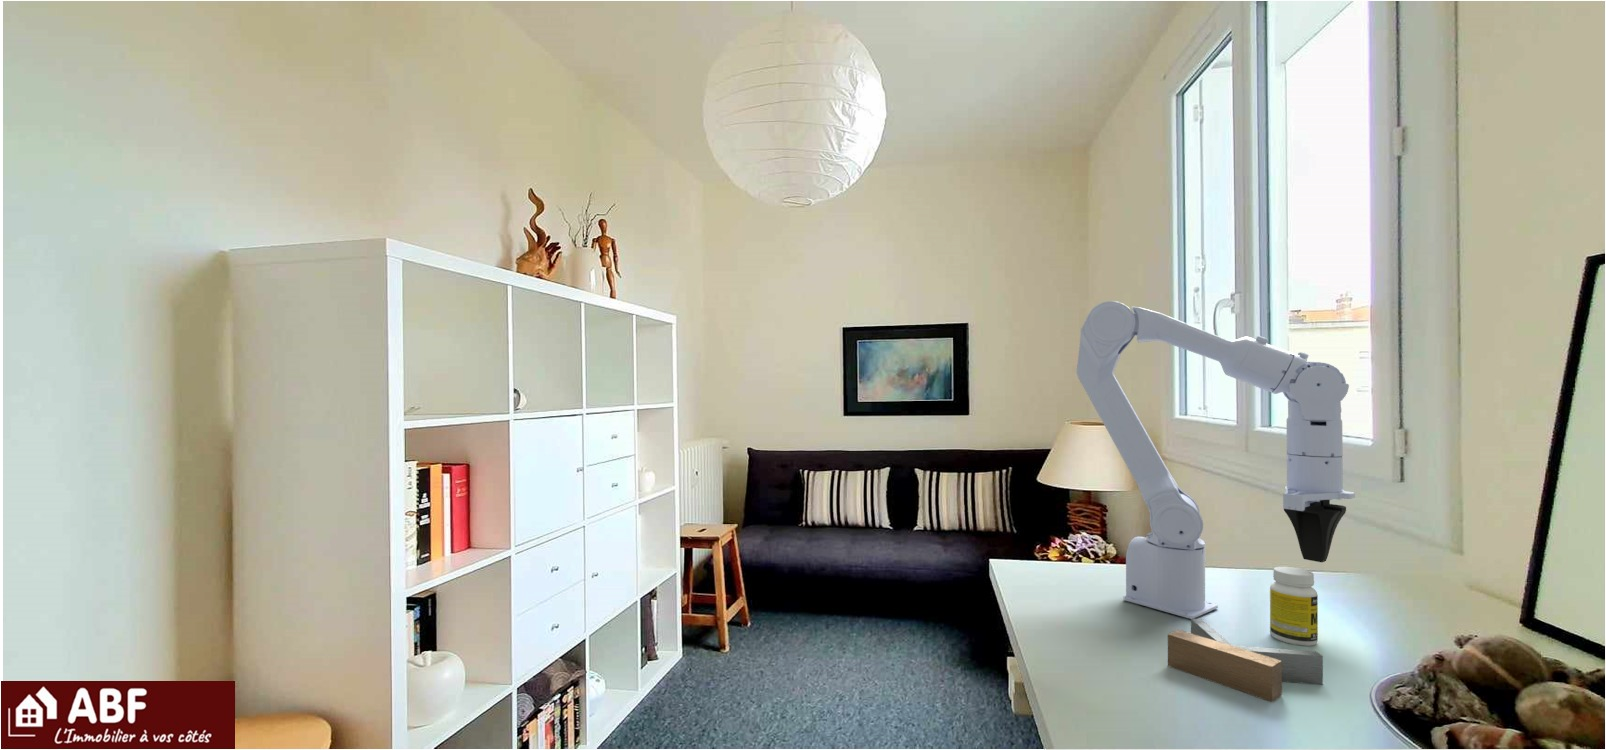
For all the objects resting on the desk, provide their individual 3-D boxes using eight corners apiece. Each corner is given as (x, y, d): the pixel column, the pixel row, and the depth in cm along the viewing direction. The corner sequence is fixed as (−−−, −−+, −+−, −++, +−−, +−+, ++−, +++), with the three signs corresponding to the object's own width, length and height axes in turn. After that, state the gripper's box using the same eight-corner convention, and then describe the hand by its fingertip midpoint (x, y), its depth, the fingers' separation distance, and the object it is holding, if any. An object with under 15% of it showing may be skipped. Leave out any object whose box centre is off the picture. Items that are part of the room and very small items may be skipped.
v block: (1154, 660, 74) (1154, 629, 74) (1194, 641, 79) (1194, 612, 79) (1290, 708, 63) (1290, 672, 63) (1325, 682, 69) (1325, 649, 69)
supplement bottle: (1320, 650, 77) (1320, 578, 77) (1271, 641, 80) (1271, 572, 80) (1315, 636, 81) (1314, 568, 81) (1268, 628, 84) (1268, 563, 84)
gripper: (1332, 461, 77) (1333, 577, 77) (1371, 454, 86) (1372, 558, 85) (1263, 456, 83) (1264, 563, 83) (1306, 449, 91) (1307, 546, 91)
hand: (1314, 560), depth 85 cm, fingers closed
